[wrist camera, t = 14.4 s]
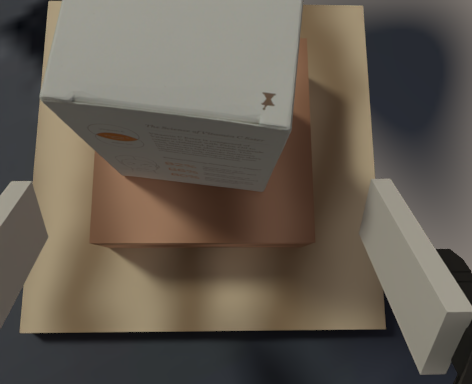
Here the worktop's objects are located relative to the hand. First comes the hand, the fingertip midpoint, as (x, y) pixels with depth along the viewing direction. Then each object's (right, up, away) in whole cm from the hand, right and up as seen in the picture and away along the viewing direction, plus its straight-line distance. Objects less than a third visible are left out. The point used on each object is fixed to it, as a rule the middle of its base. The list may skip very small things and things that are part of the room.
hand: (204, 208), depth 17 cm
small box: (-1, +4, +7) cm, 8 cm away
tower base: (-1, +3, +12) cm, 12 cm away
